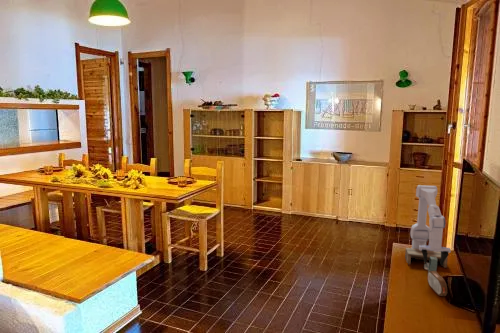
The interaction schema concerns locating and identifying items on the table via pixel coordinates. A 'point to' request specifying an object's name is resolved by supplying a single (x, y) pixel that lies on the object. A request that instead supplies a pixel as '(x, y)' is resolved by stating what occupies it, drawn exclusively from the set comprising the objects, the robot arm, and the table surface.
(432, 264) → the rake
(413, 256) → the grey bridge block
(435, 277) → the tin
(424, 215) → the robot arm
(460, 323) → the table surface
